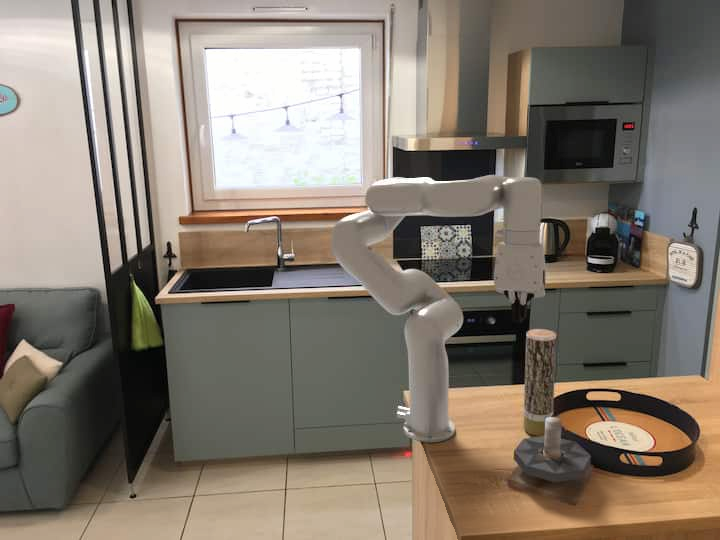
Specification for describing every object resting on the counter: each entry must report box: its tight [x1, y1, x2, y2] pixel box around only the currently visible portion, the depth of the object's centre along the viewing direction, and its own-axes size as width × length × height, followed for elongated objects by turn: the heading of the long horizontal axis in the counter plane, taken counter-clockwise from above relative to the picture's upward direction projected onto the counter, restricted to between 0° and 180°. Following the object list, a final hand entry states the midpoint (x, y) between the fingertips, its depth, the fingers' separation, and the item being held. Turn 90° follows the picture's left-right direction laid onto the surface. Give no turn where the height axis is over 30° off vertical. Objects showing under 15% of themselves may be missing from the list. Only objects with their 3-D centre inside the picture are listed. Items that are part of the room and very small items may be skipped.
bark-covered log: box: [523, 328, 557, 437], centre depth 153 cm, size 7×7×25 cm
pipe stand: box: [507, 416, 594, 506], centre depth 134 cm, size 14×14×14 cm
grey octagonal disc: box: [513, 436, 592, 482], centre depth 135 cm, size 14×14×2 cm
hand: (518, 320), depth 138 cm, fingers closed
